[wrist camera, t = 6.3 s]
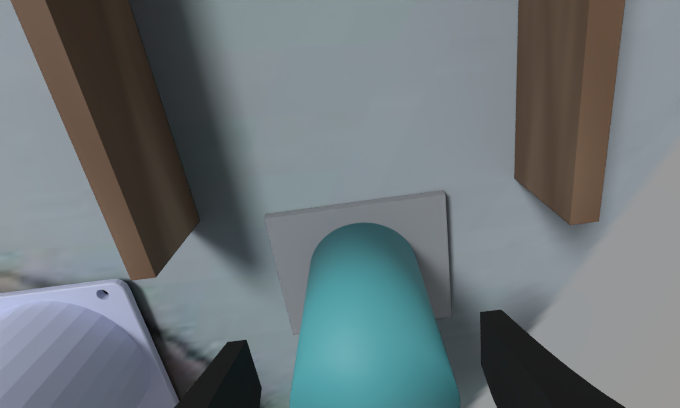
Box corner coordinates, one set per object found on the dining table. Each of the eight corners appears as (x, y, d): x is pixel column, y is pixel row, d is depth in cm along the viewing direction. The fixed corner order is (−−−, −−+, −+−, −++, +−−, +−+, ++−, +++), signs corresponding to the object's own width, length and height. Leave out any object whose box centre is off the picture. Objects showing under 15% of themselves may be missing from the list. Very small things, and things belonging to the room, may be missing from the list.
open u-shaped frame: (180, 223, 16) (131, 280, 12) (34, -198, 11) (-127, -319, 7) (536, 175, 15) (598, 221, 11) (558, -314, 10) (687, -525, 6)
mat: (294, 328, 18) (293, 335, 17) (266, 214, 16) (264, 218, 15) (449, 310, 17) (451, 316, 17) (442, 190, 15) (445, 194, 15)
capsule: (319, 319, 17) (306, 470, 11) (300, 230, 15) (272, 354, 9) (420, 307, 17) (462, 456, 11) (412, 215, 15) (457, 333, 9)
